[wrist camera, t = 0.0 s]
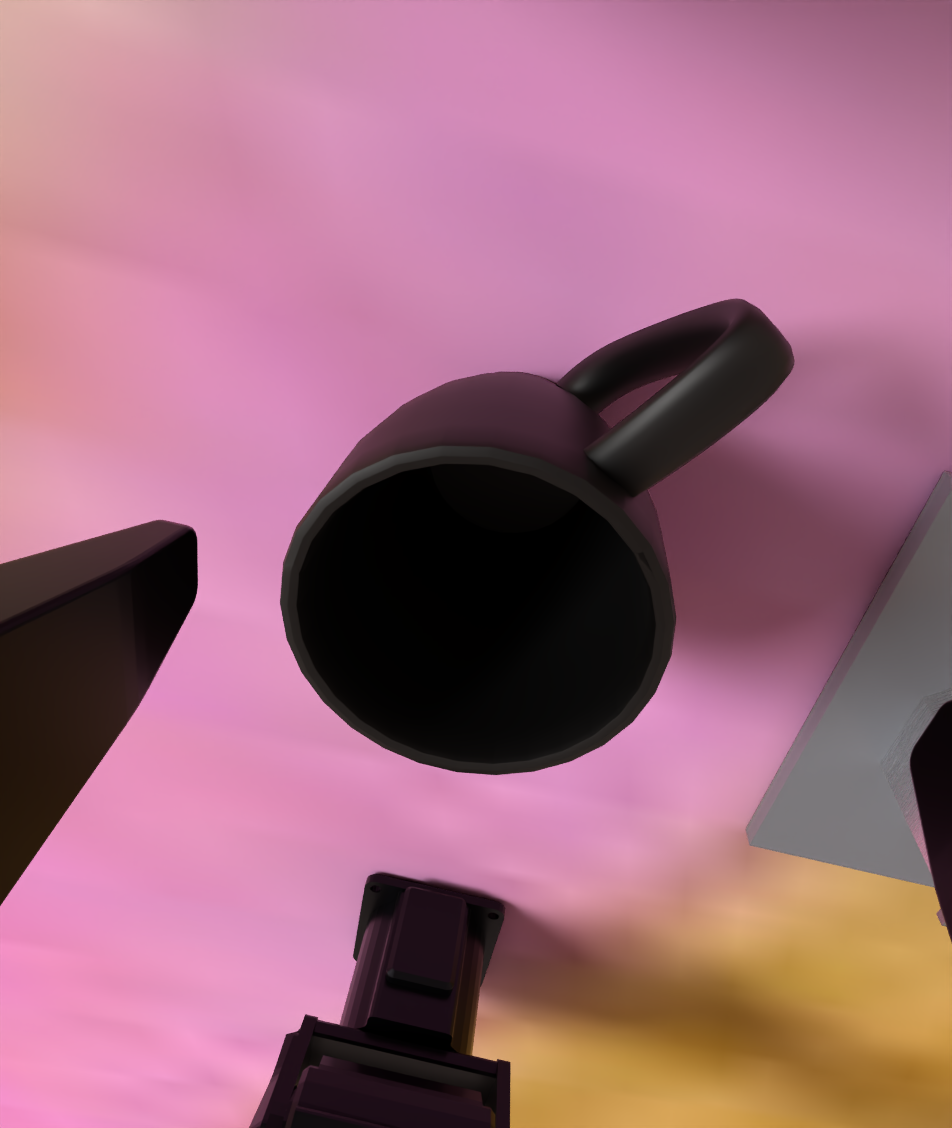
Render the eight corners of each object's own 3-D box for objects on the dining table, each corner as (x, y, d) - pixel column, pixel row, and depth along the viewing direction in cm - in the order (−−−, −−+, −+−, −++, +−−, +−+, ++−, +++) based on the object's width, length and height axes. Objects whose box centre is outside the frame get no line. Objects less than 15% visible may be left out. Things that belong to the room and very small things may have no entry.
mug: (808, 376, 21) (950, 531, 13) (510, 612, 26) (477, 828, 18) (615, 147, 19) (639, 159, 11) (331, 454, 24) (203, 618, 16)
